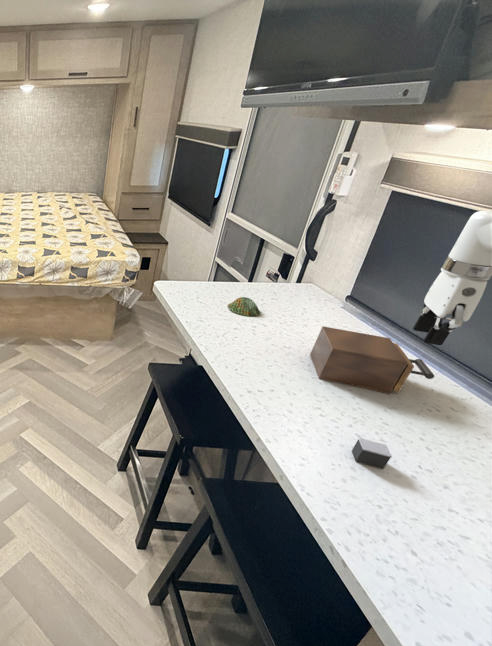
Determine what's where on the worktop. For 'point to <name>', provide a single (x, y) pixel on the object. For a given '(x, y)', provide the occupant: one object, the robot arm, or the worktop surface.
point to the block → (371, 453)
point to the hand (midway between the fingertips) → (426, 336)
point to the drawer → (408, 369)
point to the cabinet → (357, 359)
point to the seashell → (244, 307)
